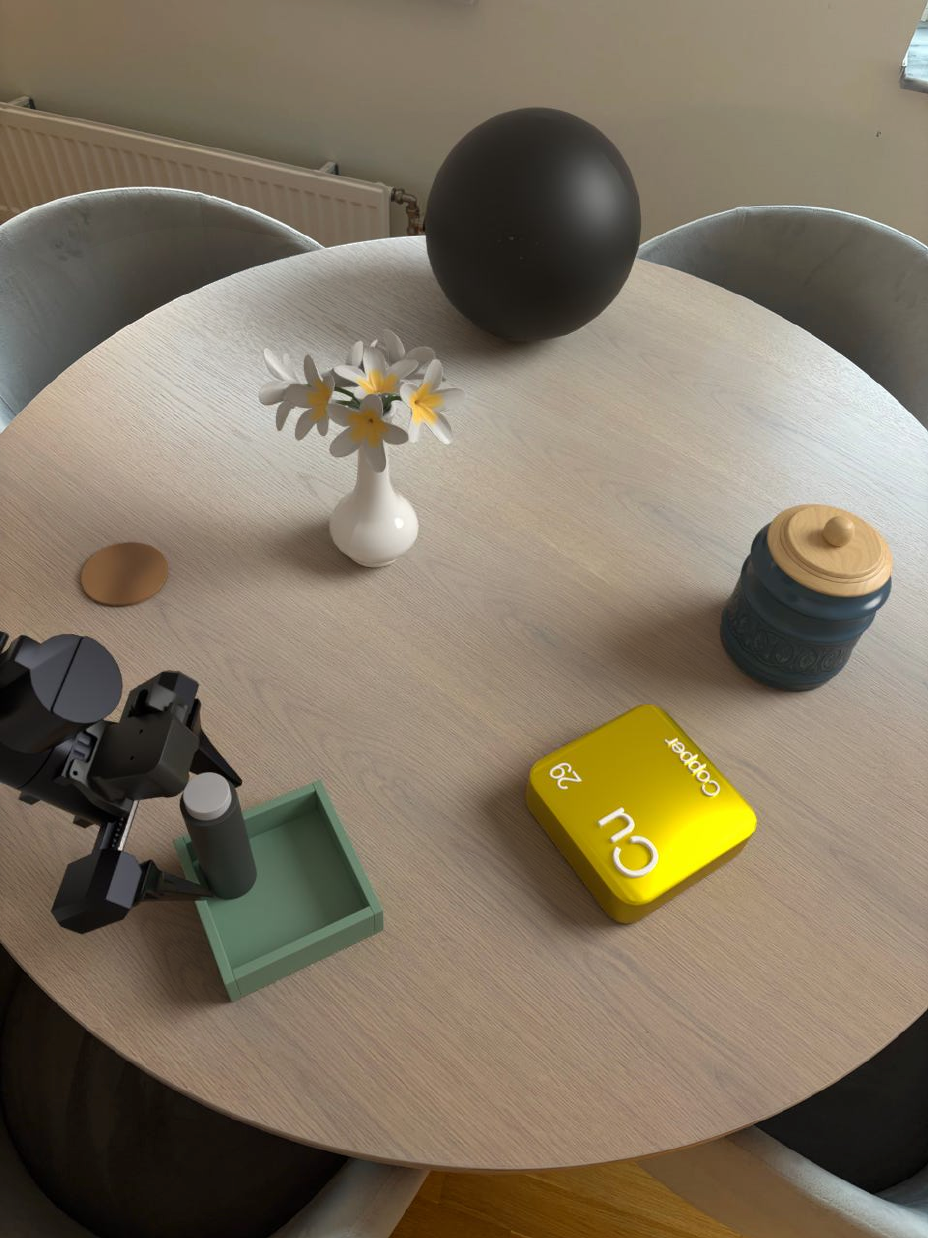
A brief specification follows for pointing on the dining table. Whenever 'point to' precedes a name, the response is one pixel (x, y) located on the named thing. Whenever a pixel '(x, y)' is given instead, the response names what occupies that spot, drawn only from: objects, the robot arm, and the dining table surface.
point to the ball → (533, 224)
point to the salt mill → (219, 835)
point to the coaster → (124, 574)
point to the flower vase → (368, 434)
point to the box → (288, 893)
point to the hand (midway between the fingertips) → (225, 838)
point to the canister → (805, 596)
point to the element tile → (638, 811)
